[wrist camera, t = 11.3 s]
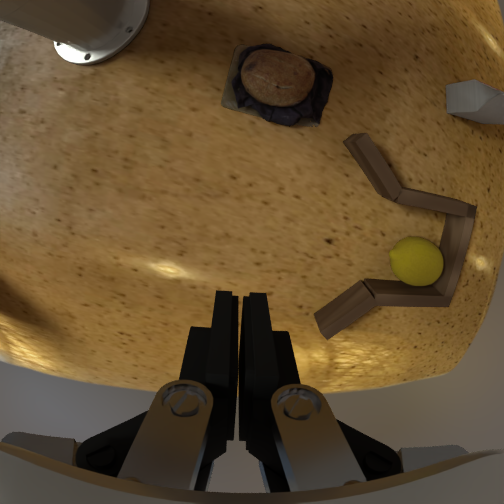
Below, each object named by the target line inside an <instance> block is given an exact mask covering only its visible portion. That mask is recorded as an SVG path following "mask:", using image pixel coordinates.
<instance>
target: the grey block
mask: <svg viewBox="0 0 504 504" xmlns="http://www.w3.org/2000/svg"><path fill="white" fill-rule="evenodd" d="M446 101H447V113H448V114H452V115H455V116H459V117H462V118H466V119H469V120H472V121H476V122H479V123H482V124H504V92H503V91H500V90H498V89H496V88H494V87H492V86H489V85H487V84H485V83H482V82H480V81H477V80H469V81H464V82H459V83H454V84H449V85H446Z"/></svg>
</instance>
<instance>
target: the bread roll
mask: <svg viewBox="0 0 504 504" xmlns="http://www.w3.org/2000/svg"><path fill="white" fill-rule="evenodd" d="M332 82H333V75H332V70H331V69H330V68H329V67H327V66H325V65H323V64H321V63H319V62H317V61H315V60H312V59H307V58H305V57H303V56H299V55H295V54H292V53H291V52H289V51H286V50H283V49H282V48H281V47H276V46H274V45H272V44H262V45H256V46H247V45H239V46H237V47H236V48H235V51H234V56H233V60H232V62H231V66H230V70H229V74H228V78H227V81H226V85H225V89H224V93H223V97H222V101H221V104H222V106H223V107H225V108H228V109H231V110H235V111H239V112H243V113H246V114H250V115H254V116H258V117H261V118H263V119H265V120H266V121H272V122H274V123H277V124H281V125H286V126H289V127H290V126H291V125H302V126H309V127H310V126H311V127H313V126H312V125H313V124H314V125H315V127H317V126H318V125H319V123H320V120H321V116H322V111H323V109H324V106H325V104H326V103H327V100H328V96H329V93H330V90H331V87H332ZM310 121H311V122H310Z"/></svg>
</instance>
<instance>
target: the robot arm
mask: <svg viewBox="0 0 504 504" xmlns="http://www.w3.org/2000/svg"><path fill="white" fill-rule="evenodd" d="M149 5H150V1H149V0H0V21H3V22H6V23H9V24H12V25H14V26H17V27H20V28H23V29H25V30H28V31H30V32H33V33H36V34H38V35H41V36H43V37H45V38H48V39H50V40H53V41H54V46H55V49H56V51H57V53H58V54H59V55H60V56H61V57H62V58H63V59H64V60H66V61H68V62H70V63H73V64H76V65H91V64H95V63H99V62H102V61H104V60H106V59H108V58H110V57H112V56H114V55H115V54H117V53H118V52H120V51H121V50H122V49H123V48H125V47H126V46H127V45H128V44H129V43H130V42H131V41H132V40H133V39H134V38H135V37H136V35H137V34H138V32H139V31H140V30H141V28H142V26H143V24H144V22H145V21H146V18H147V15H148V12H149ZM131 31H132V32H131ZM130 32H131V33H130ZM238 374H239V441H246V450H249V453H250V454H252V455H253V456H254V457H256V458H257V459H258V460H259V468H260V472H261V476H262V479H263V483H264V487H265V490H266V493H221V492H207V491H208V487H209V483H210V479H211V475H212V471H213V467H214V460H215V459H216V458H218V457H219V456H221V455H222V454H223V453H225V452H226V444H227V440H234V427H235V413H236V400H237V387H238ZM0 504H504V449H497V450H483V451H477V452H473V453H468V452H467V451H466V450H465V449H464V448H462V447H460V446H458V445H446V446H433V447H414V448H401V449H400V450H399V451H394V450H393V449H391V448H390V447H388V446H387V445H385V444H383V443H380V442H379V441H377V440H375V439H372V438H371V437H369V436H367V435H365V434H363V433H361V432H359V431H357V430H355V429H354V428H352V427H350V426H348V425H346V424H344V423H343V422H341V421H339V420H337V419H336V418H335V416H334V415H333V412H332V411H331V408H330V406H329V404H328V402H327V400H326V399H325V397H324V396H323V394H322V393H321V392H319V391H318V390H317V389H315V388H313V387H310V386H308V385H303V384H301V383H300V379H299V374H298V370H297V365H296V361H295V357H294V352H293V348H292V344H291V339H290V335H289V332H288V331H272V327H271V320H270V314H269V308H268V301H267V295H266V293H253V292H250V295H249V296H243V307H242V320H241V334H240V347H239V364H238V296H232V291H217V290H216V296H215V303H214V310H213V318H212V326H211V328H206V327H193V326H191V328H190V331H189V336H188V340H187V345H186V349H185V354H184V358H183V363H182V368H181V372H180V377H179V380H175V381H172V382H169V383H167V384H165V385H164V386H162V387H161V388H160V389H159V391H158V392H157V393H156V395H155V398H154V400H153V402H152V404H151V406H150V408H149V410H148V411H146V412H144V413H142V414H140V415H138V416H136V417H134V418H132V419H130V420H128V421H125V422H124V423H121V424H119V425H117V426H115V427H113V428H111V429H108V430H106V431H104V432H102V433H100V434H97V435H95V436H93V437H91V438H89V439H87V440H85V441H84V442H83V443H80V442H76V441H75V439H71V438H60V437H51V436H43V435H36V434H29V433H24V432H12V433H9V434H7V435H6V436H5V437H4V438H3V439H2V441H1V442H0Z"/></svg>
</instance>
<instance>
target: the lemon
mask: <svg viewBox="0 0 504 504" xmlns="http://www.w3.org/2000/svg"><path fill="white" fill-rule="evenodd" d="M389 256H390V264H391V268H392V271H393V273H394V274H395V275H396V276H397V278H398V279H400V280H401V281H403V282H405V283H407V284H409V285H413V286H426V285H429V284H432V283H434V282H435V281H436V280H437V279H438V278H439V277H440V275H441V273H442V270H443V256H442V254H441V252H440V250H439V249H438V248H437V247H436V246H435V245H434V244H433V243H431V242H430V241H428V240H426V239H424V238H421V237H406V238H404V239H402V240H400V241H399V242H398V243H397V244H396V245H395V246H394V248H393V249H392V250H391V251H390V252H389Z"/></svg>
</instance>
